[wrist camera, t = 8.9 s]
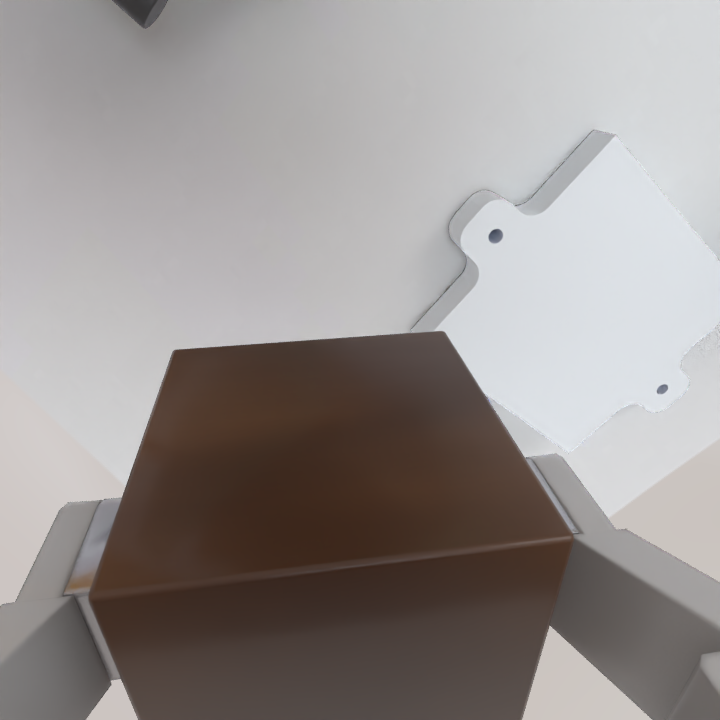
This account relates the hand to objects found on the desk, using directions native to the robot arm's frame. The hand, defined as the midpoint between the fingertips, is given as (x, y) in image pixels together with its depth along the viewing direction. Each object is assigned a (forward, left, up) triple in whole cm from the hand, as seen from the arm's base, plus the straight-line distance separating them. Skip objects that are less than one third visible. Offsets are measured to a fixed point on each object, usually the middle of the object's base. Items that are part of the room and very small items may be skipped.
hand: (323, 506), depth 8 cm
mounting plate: (+16, +1, -19) cm, 25 cm away
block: (0, 0, -2) cm, 2 cm away
